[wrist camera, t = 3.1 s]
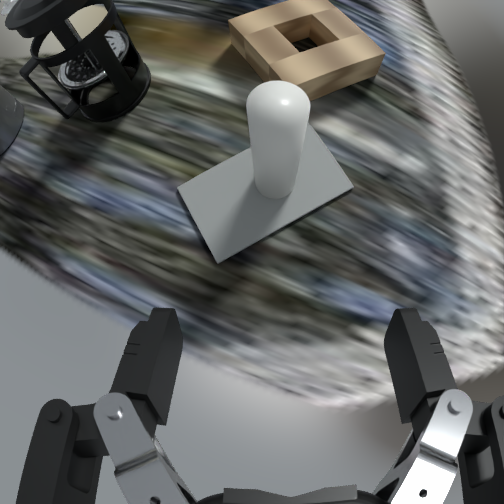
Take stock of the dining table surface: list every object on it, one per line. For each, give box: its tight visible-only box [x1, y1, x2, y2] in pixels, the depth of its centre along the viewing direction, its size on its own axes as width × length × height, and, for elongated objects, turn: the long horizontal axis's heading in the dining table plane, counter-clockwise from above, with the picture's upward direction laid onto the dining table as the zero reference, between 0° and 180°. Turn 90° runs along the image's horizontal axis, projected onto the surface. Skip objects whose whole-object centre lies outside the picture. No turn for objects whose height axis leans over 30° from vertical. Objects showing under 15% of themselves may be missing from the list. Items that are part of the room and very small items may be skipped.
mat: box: [177, 122, 354, 263], centre depth 29 cm, size 14×8×1 cm, turn 119°
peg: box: [246, 81, 310, 199], centre depth 23 cm, size 4×4×12 cm
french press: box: [5, 0, 151, 122], centre depth 21 cm, size 12×9×23 cm
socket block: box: [228, 0, 385, 101], centre depth 29 cm, size 12×12×4 cm
